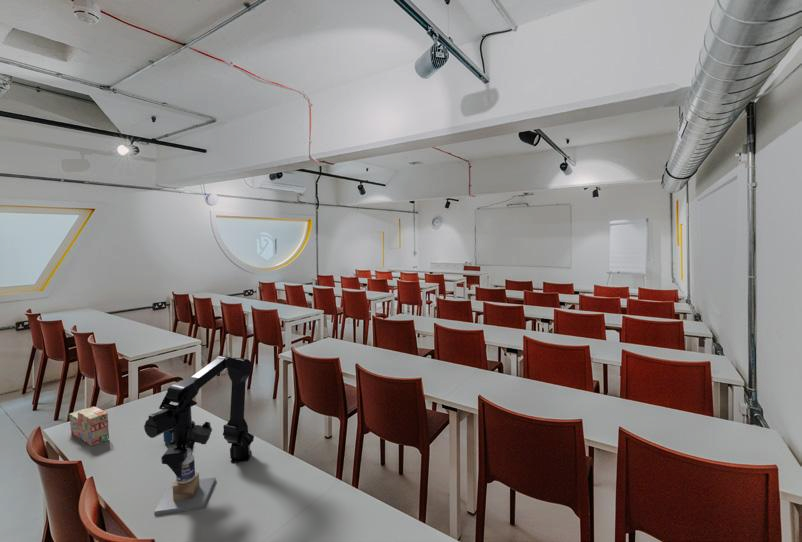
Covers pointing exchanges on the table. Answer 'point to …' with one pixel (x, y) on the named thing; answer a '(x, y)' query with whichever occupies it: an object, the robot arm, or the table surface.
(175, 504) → the base plate
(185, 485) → the tan wooden block
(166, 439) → the soda can
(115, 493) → the table surface
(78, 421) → the stack of blocks
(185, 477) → the pill bottle
